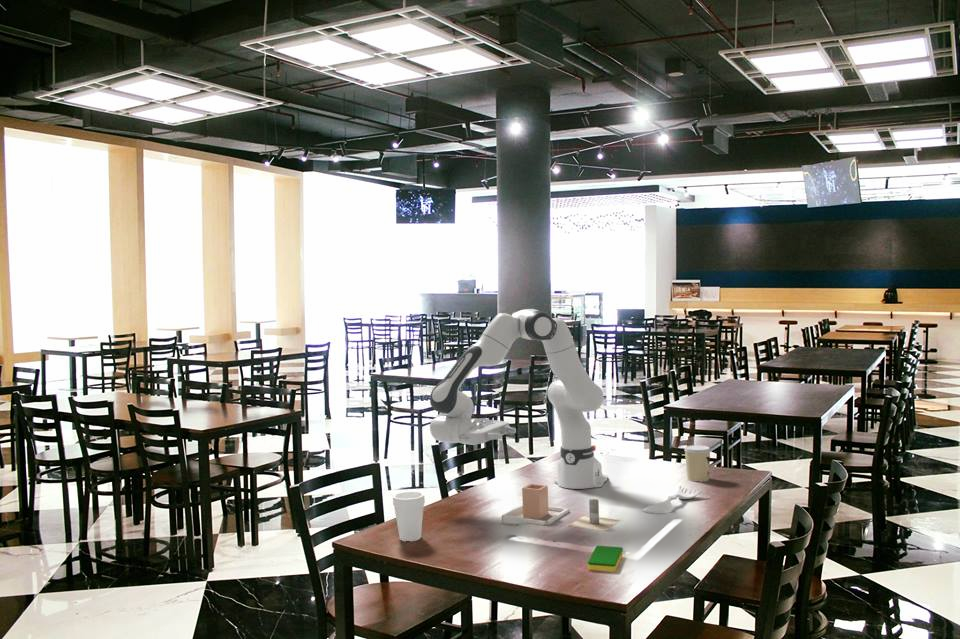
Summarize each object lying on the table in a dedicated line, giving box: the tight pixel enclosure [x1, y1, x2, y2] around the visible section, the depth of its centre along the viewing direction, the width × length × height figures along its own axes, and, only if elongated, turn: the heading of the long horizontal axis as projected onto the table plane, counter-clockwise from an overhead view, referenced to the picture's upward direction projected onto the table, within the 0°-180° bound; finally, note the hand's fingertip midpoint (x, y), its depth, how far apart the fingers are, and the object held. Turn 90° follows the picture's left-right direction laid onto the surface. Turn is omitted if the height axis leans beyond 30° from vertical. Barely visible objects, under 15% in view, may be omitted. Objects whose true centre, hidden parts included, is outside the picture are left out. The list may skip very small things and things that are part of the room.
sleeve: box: [521, 483, 549, 520], centre depth 246 cm, size 6×6×10 cm
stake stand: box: [568, 498, 621, 532], centre depth 236 cm, size 12×12×8 cm
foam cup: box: [392, 490, 426, 542], centre depth 232 cm, size 10×9×13 cm
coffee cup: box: [684, 444, 711, 483], centre depth 290 cm, size 9×9×12 cm
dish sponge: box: [587, 545, 623, 573], centre depth 206 cm, size 7×14×2 cm, turn 162°
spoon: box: [641, 485, 704, 515], centre depth 256 cm, size 9×32×4 cm, turn 141°
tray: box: [501, 504, 570, 527], centre depth 246 cm, size 16×16×2 cm
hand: (508, 433), depth 256 cm, fingers open, 8 cm apart
